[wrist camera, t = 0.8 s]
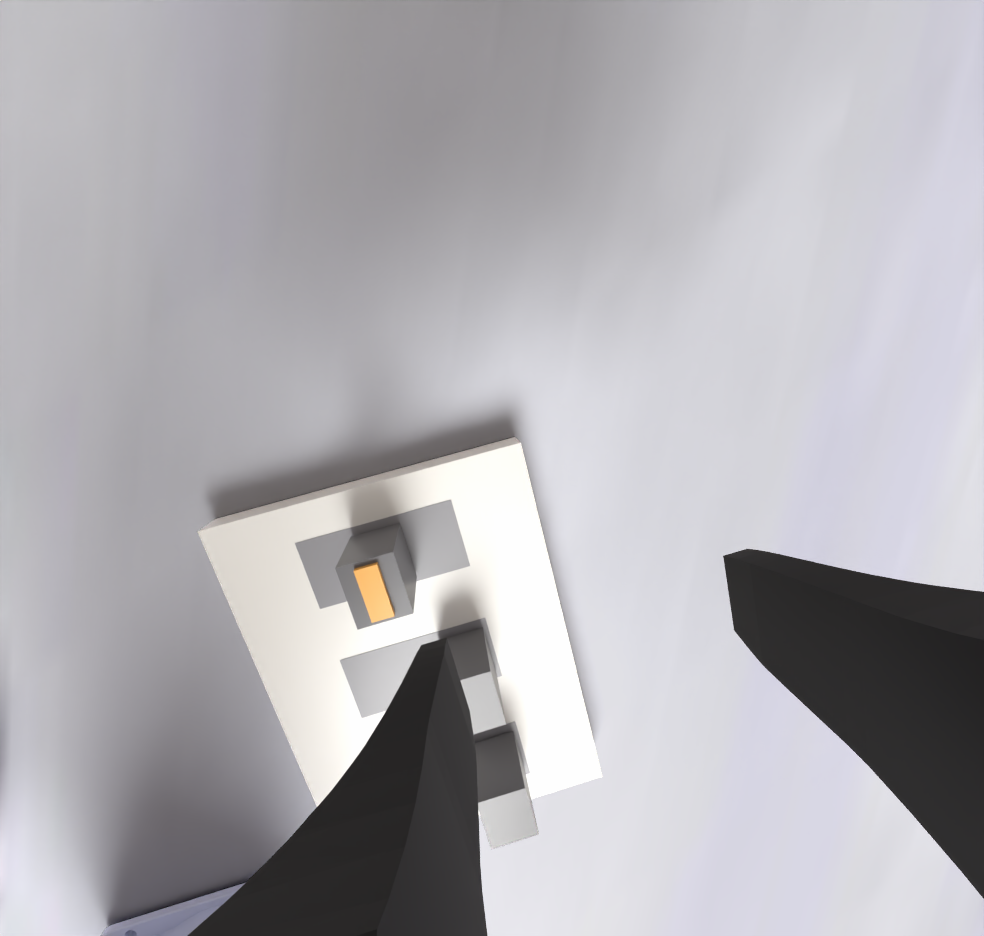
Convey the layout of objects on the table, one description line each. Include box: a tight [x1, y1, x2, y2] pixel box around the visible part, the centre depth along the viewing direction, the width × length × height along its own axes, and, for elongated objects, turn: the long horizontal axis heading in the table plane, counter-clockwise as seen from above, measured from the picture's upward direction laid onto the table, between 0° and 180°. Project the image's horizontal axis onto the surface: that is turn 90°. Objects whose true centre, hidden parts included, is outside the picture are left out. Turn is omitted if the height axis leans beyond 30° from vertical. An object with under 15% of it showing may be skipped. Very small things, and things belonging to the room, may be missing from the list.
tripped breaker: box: [335, 523, 417, 630], centre depth 18 cm, size 2×2×3 cm
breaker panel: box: [197, 437, 602, 849], centre depth 20 cm, size 13×17×5 cm
